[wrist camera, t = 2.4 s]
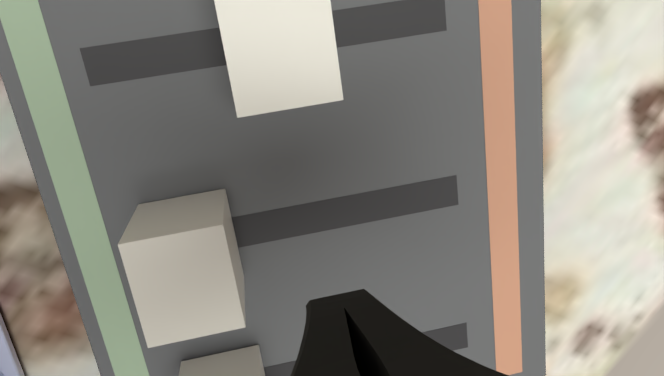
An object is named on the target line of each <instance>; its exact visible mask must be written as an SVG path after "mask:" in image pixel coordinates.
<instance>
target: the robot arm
mask: <svg viewBox="0 0 664 376" xmlns="http://www.w3.org/2000/svg"><path fill="white" fill-rule="evenodd" d="M0 376H25V375H24V373H23V370H22V368H21V365H20V362H19V360H18V357H17V355H16V352H15V349H14V347H13V344H12V342H11V339H10V337H9V334H8V331H7V329H6V326H5V324H4V321H3V318H2V316H1V313H0ZM291 376H509V375H506V374H503V373H500V372H498V371H495V370H493V369H490V368H488V367H486V366H483V365H481V364H479V363H477V362H475V361H473V360H470V359H468V358H466V357H464V356H462V355H460V354H458V353H456V352H454V351H452V350H450V349H448V348H447V347H445V346H443V345H441V344H440V343H438V342H436V341H435V340H433V339H431V338H430V337H428V336H426V335H425V334H423V333H422V332H420V331H419V330H417V329H416V328H414V327H413V326H412V325H410V324H409V323H407V322H406V321H405V320H403V319H402V318H400V317H399V316H398V315H396V314H395V313H394V312H393V311H391V310H390V309H389V308H387V307H386V306H385V305H384V304H382V303H381V302H380V301H379V300H378V299H376V298H375V297H374V296H373V295H371V294H370V293H369V292H368V291H366V290H365V289H360V290H356V291H351V292H346V293H341V294H336V295H332V296H327V297H322V298H317V299H313V300H310V301H309V302H308V303H307V305H306V323H305V329H304V334H303V338H302V342H301V346H300V349H299V353H298V356H297V359H296V362H295V365H294V368H293V370H292V373H291Z"/></svg>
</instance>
